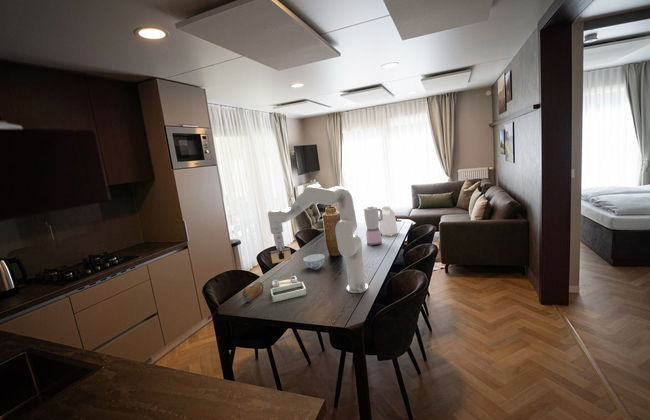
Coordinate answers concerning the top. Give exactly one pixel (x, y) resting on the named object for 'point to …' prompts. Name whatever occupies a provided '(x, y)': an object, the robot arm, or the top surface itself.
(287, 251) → the tan rectangular block
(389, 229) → the milk
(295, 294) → the tray
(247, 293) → the orange plastic package
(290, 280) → the clip holder
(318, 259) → the chinaware
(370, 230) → the blender
